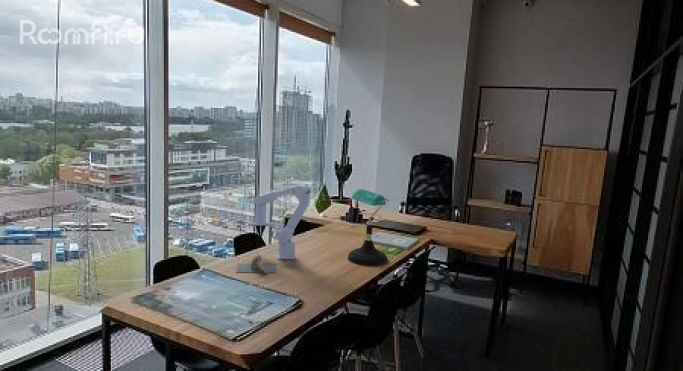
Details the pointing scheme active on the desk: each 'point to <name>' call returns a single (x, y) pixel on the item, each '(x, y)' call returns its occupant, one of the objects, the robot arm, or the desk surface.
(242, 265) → the charcoal mat
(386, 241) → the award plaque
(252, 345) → the desk surface
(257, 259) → the rough beige rock
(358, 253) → the banker's lamp
